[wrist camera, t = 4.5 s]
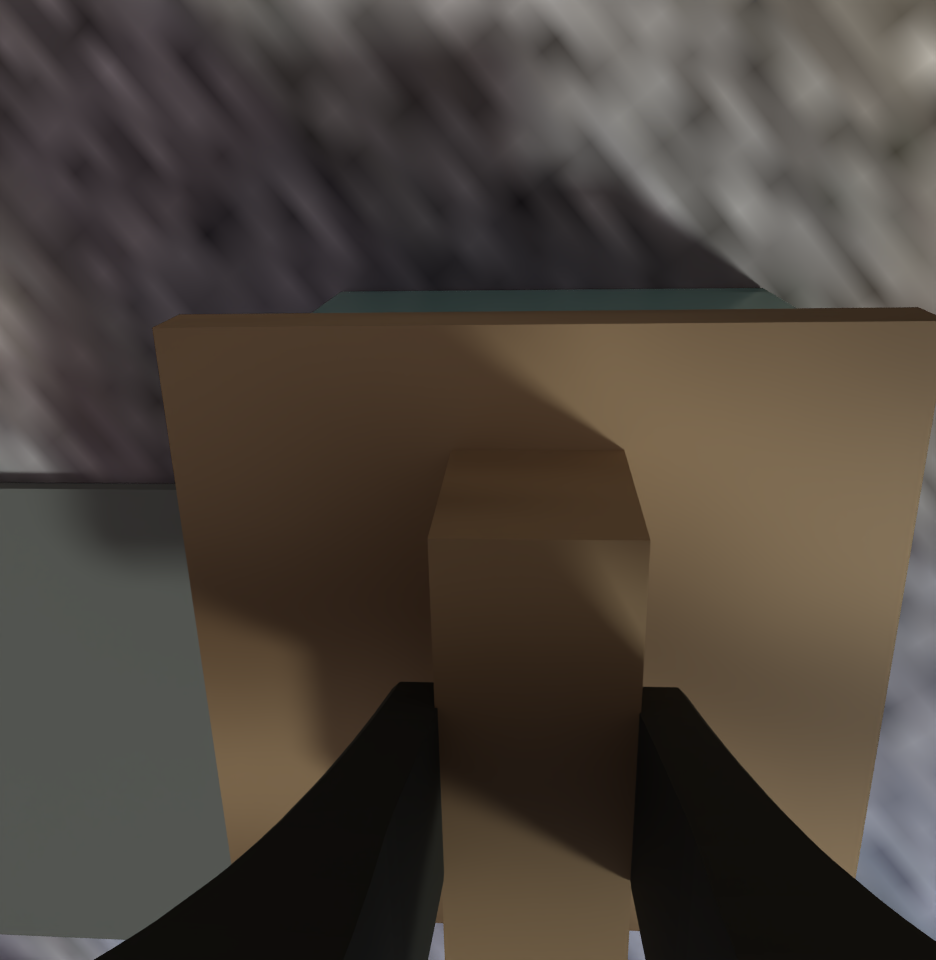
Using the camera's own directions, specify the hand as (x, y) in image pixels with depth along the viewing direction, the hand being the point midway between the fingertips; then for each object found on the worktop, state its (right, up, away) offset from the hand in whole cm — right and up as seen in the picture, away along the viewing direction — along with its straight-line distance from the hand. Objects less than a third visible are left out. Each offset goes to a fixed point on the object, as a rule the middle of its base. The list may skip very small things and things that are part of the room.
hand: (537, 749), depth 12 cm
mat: (-13, -3, +12) cm, 18 cm away
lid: (0, +1, +3) cm, 3 cm away
